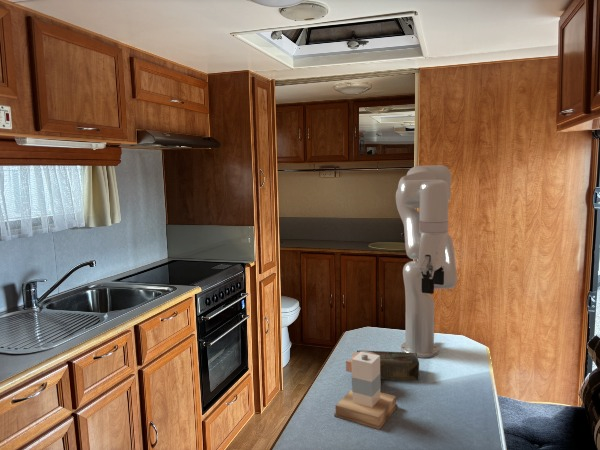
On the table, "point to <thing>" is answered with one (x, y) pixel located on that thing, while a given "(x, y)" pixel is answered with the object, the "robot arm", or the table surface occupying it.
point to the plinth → (366, 410)
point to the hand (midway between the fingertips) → (433, 288)
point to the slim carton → (366, 379)
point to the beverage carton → (398, 365)
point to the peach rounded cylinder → (348, 362)
